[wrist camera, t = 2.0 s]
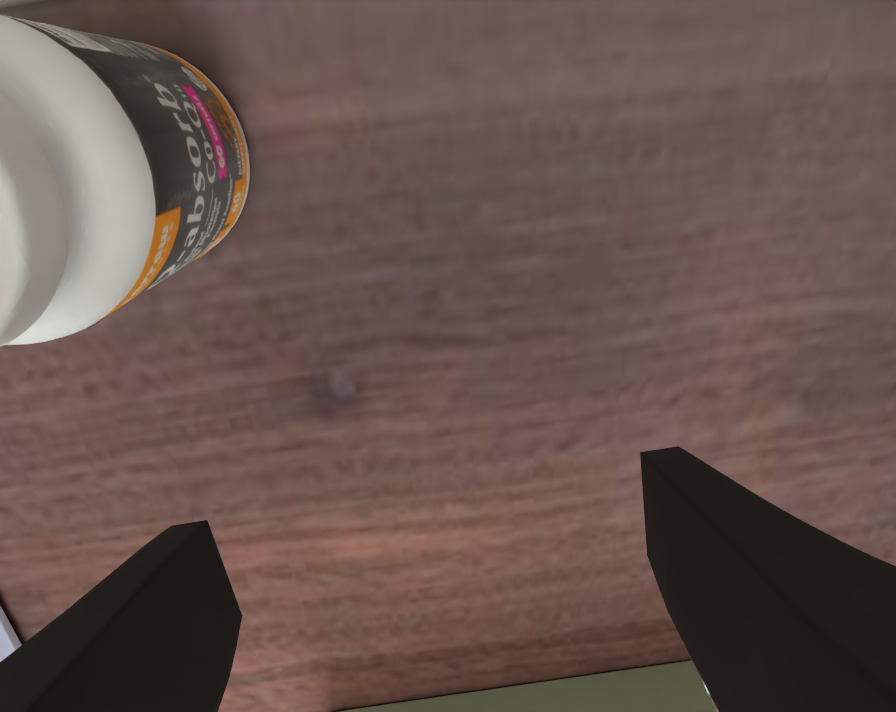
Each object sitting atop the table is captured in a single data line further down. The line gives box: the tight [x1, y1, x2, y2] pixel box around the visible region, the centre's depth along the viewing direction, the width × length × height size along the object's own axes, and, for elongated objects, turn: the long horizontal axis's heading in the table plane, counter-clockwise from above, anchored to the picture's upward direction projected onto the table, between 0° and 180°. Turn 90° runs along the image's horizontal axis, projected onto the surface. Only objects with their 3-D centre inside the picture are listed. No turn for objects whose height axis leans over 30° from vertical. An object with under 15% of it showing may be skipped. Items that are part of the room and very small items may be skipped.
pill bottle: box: [0, 15, 250, 347], centre depth 13 cm, size 6×6×10 cm
